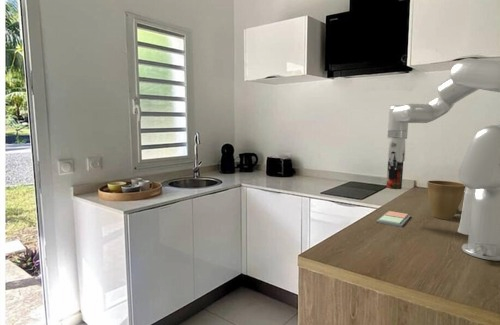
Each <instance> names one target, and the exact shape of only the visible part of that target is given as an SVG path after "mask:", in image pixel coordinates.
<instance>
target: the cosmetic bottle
mask: <svg viewBox="0 0 500 325" xmlns="http://www.w3.org/2000/svg"><path fill="white" fill-rule="evenodd" d="M474 190H475V189H470V188H468V187H465V191H464V194H463V200H462V201H463V202H462V209H461V216H460V221H459V226H458V228H457V233H459V234H461V235H466V236H469V225H470V214H471V205H472V197H473V193H474Z"/></svg>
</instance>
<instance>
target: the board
mask: <svg viewBox="0 0 500 325" xmlns="http://www.w3.org/2000/svg"><path fill="white" fill-rule="evenodd" d="M409 219H411V215H409V214H408V213H404V212H398V211H392V210H389V211H387V212H385V213H384V214H383V215H381V217H379V218H378V219H377V220H376V221H375V222H376V223H377V222H378V224H385V225H389V226H396V227H400V228H402V227H403V226H404V224H406V223H407V222H408V221H409Z"/></svg>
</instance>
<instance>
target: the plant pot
mask: <svg viewBox="0 0 500 325" xmlns="http://www.w3.org/2000/svg"><path fill="white" fill-rule="evenodd" d="M426 183H427V184H426V187H427V194H428V200H429V204H430V208H431V212H432V216H433V217H434V218H436V219H441V220H447V221H449V220H450V221H451V220H453V219H454V217H455V216H456V214H457V213H456V211H457V209H458V207H459V208H460V204H461V203H462V201H463V200H462V199H463V198H464V194H465V191H466V186H464V185H463V184H462V182H455V181H449V180H428V181H426Z"/></svg>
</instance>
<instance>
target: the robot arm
mask: <svg viewBox="0 0 500 325" xmlns="http://www.w3.org/2000/svg"><path fill="white" fill-rule="evenodd" d="M478 90H483V91H489V92H493V93H500V60H492V59H490V60H489V59H478V58H472V57H471V58H470V57H469V58H467V57H466V58H462V59H460V60H459V61H457V62H456V63H455V64H453V65H452V67H451V69H450V72H449V78H447V79H445V80H444V81H442V82H441V83H440V84H438V87H437V93H438V96H437V97H436V98H434V99H432V100H431V101H430V102H427V103H406V104H395V105H394V104H393V105H390V107H389V109H388V110H389V111H388V126H387V139H389V143H388V153H387V162H388V161H389V162H390V166H389V179H397V164H398V162H399V163H401V162H402V161H403V153H404V161H403V163H404V162H405V161H406V140H407V139H408V133H409V132H408V131H409V130H408V129H409V124H428V123H431V122H433V121H435V120H437V119H439V118H440V117H442V116H444V115H446V114H447V113H448V112H450V110H451V109H452V108H453V107H454V105H455V104H456V103H457V102H460V101H461V100H463V99H464V98H466V97H468V96H469V95H471V94H473V93H475V92H477V91H478ZM394 160H395V161H396V162H394ZM458 177H459V181H460V183H462V184H463V185H464V186H465V188H467V187H468V188H470V189H475V190H474V193H473V197H472V205H471V214H470V225H469V235H467V236H468V238H467V239H468V240H467V243H463V244H462V245H461V250H462V251H463V252H464V253H465V254H467V255H469V256H472V257H474V258H478V259H483V260H488V261H495V262H498V261H499V262H500V121H499V122H498V123H497V124H491V125H487V126H485V127H483V128H481V129H479V130H478V131H477V132H476V134H475V135H474V136H473V138H472V140H471V142H470V144H469V146H468V148H467V149H466V152H465V154H464V156H463V158H462V161H461V163H460V166H459V169H458Z"/></svg>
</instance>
